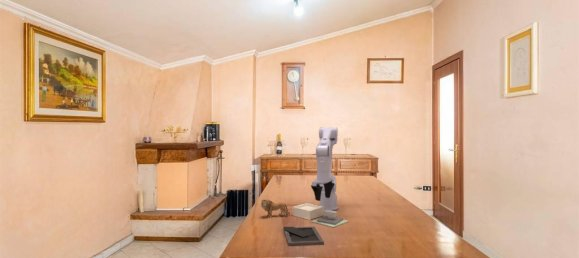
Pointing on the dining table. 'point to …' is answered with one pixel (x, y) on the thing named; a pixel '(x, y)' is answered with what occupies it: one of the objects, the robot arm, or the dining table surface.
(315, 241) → the picture frame
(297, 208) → the tray
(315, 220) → the sage mat
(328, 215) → the grey cover
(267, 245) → the dining table surface
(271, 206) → the lion figurine
